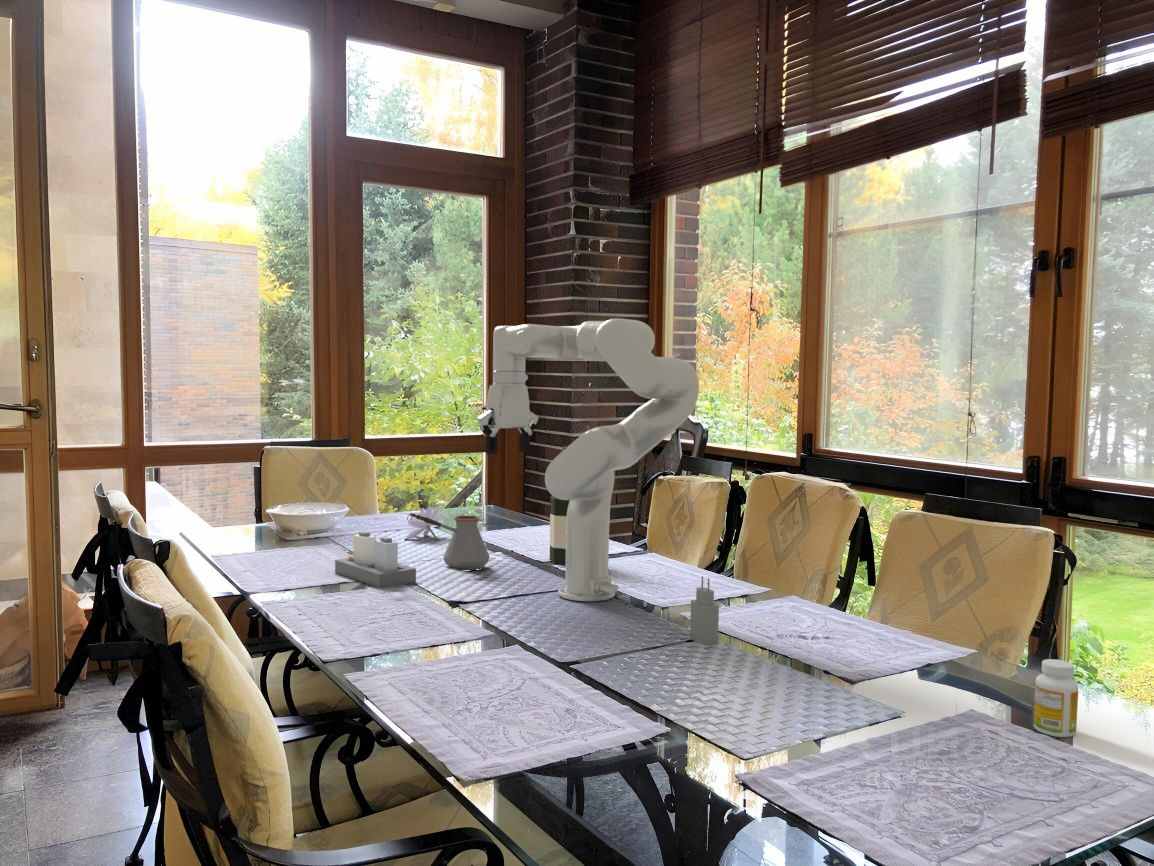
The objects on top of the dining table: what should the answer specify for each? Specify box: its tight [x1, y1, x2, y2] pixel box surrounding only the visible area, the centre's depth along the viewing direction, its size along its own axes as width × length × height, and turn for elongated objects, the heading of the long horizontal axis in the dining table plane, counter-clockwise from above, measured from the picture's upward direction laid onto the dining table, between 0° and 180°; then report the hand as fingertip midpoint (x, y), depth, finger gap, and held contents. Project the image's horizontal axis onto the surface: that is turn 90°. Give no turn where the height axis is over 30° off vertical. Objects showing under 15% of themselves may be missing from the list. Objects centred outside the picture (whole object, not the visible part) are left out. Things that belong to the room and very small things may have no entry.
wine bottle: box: [549, 446, 570, 566], centre depth 239 cm, size 8×8×30 cm
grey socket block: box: [334, 554, 417, 589], centre depth 214 cm, size 20×10×5 cm, turn 43°
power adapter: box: [689, 575, 720, 646], centre depth 171 cm, size 3×5×12 cm, turn 30°
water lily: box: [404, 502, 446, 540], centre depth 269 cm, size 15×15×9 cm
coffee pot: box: [406, 512, 490, 571], centre depth 227 cm, size 21×12×15 cm, turn 123°
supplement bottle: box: [1033, 658, 1079, 738], centre depth 130 cm, size 5×5×10 cm
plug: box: [375, 536, 399, 572], centre depth 211 cm, size 5×3×10 cm, turn 42°
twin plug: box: [352, 530, 377, 565], centre depth 217 cm, size 5×3×10 cm, turn 43°
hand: (508, 452), depth 215 cm, fingers open, 9 cm apart
